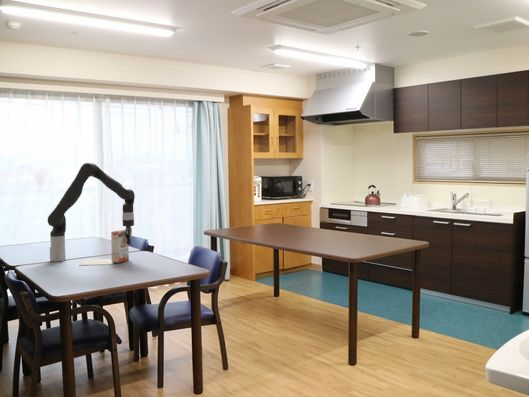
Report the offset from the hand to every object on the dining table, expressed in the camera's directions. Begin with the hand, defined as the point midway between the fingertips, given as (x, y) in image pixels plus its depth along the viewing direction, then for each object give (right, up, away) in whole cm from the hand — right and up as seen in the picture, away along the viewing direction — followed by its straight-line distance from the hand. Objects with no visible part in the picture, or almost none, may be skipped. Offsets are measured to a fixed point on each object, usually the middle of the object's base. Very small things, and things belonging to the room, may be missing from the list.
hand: (128, 244), depth 334 cm
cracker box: (-6, -12, 0) cm, 13 cm away
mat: (-20, -12, -2) cm, 23 cm away
